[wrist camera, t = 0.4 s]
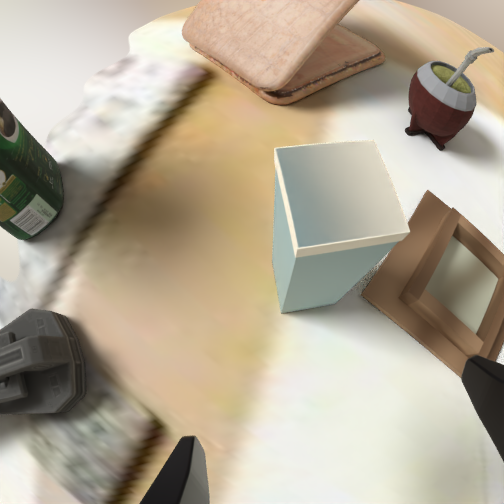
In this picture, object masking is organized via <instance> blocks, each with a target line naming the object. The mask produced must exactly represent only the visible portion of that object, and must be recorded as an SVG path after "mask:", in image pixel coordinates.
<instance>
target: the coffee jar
mask: <svg viewBox="0 0 504 504" xmlns="http://www.w3.org/2000/svg"><path fill="white" fill-rule="evenodd" d="M62 204H63V186H62V180H61V174H60V170H59V167H58V165H57V162H56V161H55V160H54V158H53V157H52V156H51V155H50V154H49V153H48V152H47V151H46V150H45V149H44V148H43V147H42V146H41V145H40V144H39V143H38V142H37V140H35V138H34V137H33V136H32V135H31V134H30V133H29V132H28V131H27V130H26V129H25V128H24V126H23V125H22V124H21V123H20V122H19V121H18V119H17V118H16V117H15V116H14V115H13V114H12V113H11V111H10V110H9V109H8V108H7V106H6V105H5V104H4V103H3V101H2V100H1V99H0V226H1V227H2V228H3V229H5V230H6V231H7V232H9V233H10V234H12V235H13V236H14V237H16V238H17V239H20V240H25V239H28V238H31V237H33V236H35V235H37V234H38V233H40V232H41V231H43V230H44V229H45V228H47V227H48V226H49V225H50V223H51V222H52V221H53V220H54V219H55V217H56V216H57V214H58V213H59V211H60V209H61V207H62Z"/></svg>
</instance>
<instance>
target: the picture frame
mask: <svg viewBox="0 0 504 504" xmlns="http://www.w3.org/2000/svg"><path fill="white" fill-rule="evenodd" d="M408 226H409V229H410V233H409V234H408V235H407V236H406V237H405V238H404V239H403V240H402V241H399V242H398V243H397V244H396V245H395V246H394V247H393V248H392V249H391V251H390V252H389V254H388V255H387V257H386V258H385V260H384V261H383V263H382V264H381V266H380V267H379V269H378V270H377V272H376V273H375V275H374V276H373V278H372V279H371V281H370V282H369V284H368V285H367V286H366V288H365V289H364V291H363V292H362V294H361V296H363V297H364V298H365V299H366V300H368V301H369V302H370V303H371V304H373V305H374V306H375V307H376V308H378V309H379V310H380V311H381V312H383V313H384V314H385V315H386V316H387V317H389V318H390V319H391V320H392V321H394V322H395V323H396V324H397V325H399V326H400V327H401V328H402V329H403V330H405V331H406V332H407V333H408V334H409V335H411V336H412V337H413V338H414V339H415V340H417V341H418V342H419V343H420V344H421V345H423V346H424V347H425V348H426V349H427V350H429V351H430V352H431V353H432V354H433V355H435V356H436V357H437V358H438V359H439V360H441V361H442V362H443V363H444V364H445V365H446V366H448V367H449V368H450V369H451V370H452V371H453V372H455V373H456V374H457V375H458V376H459V377H460V378H461V376H462V372H463V369H464V366H465V363H466V360H467V359H468V358H470V357H472V356H474V355H479V356H482V357H484V358H487V359H489V360H492V361H495V360H496V358H497V356H498V354H499V351H500V349H501V347H502V344H503V342H504V254H503V253H502V252H501V251H500V250H499V249H498V248H497V247H496V246H495V245H494V244H493V243H492V242H491V241H490V240H489V239H487V238H486V237H485V236H484V235H483V234H482V233H481V232H480V231H479V230H478V229H477V228H476V227H475V226H474V225H473V224H471V223H470V222H469V221H468V220H467V219H466V218H465V217H464V216H462V215H461V214H460V213H459V212H458V211H457V210H456V209H454V208H452V209H451V208H450V207H448V206H447V205H446V204H445V203H444V202H442V201H441V200H440V199H439V198H437V197H436V196H435V195H434V194H432V193H431V192H430V191H429V190H427V191H426V192H425V194H424V196H423V198H422V199H421V201H420V203H419V205H418V206H417V208H416V210H415V212H414V213H413V215H412V217H411V218H410V220H409V222H408Z"/></svg>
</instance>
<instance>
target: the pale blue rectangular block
mask: <svg viewBox="0 0 504 504" xmlns="http://www.w3.org/2000/svg"><path fill="white" fill-rule="evenodd" d="M274 162H275V166H276V169H275V201H274V229H273V254H272V263H273V269H274V275H275V280H276V286H277V292H278V298H279V304H280V310H281V313H287V312H293V311H299V310H305V309H310V308H316V307H321V306H327V305H332V304H335V303H336V302H337V301H338V300H340V299H341V298H342V297H343V296H344V295H345V294H346V293H347V292H348V291H349V290H350V289H351V288H352V287H353V286H354V285H356V284H357V283H358V282H359V281H360V280H361V279H362V278H363V277H364V276H365V275H366V274H367V273H368V272H369V271H370V270H371V269H372V268H373V267H374V266H375V265H376V264H377V263H378V262H379V261H380V260H381V259H382V258H383V257H384V256H385V255H386V254H387V253H388V252H389V251H390V250H391V249H392V248H393V247H394V246H395V245H396V244H397V243H398V242H399V241H402V240H403V239H404V238H405V237H406V236H407V235H408V234H409V233H410V229H409V226H408V223H407V220H406V218H405V215H404V212H403V209H402V206H401V204H400V201H399V198H398V196H397V193H396V191H395V188H394V185H393V183H392V180H391V178H390V175H389V173H388V171H387V168H386V166H385V164H384V161H383V159H382V157H381V154H380V152H379V150H378V148H377V145H376V143H375V141H374V140H363V141H345V142H331V143H318V144H307V145H297V146H287V147H278V148H274Z"/></svg>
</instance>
